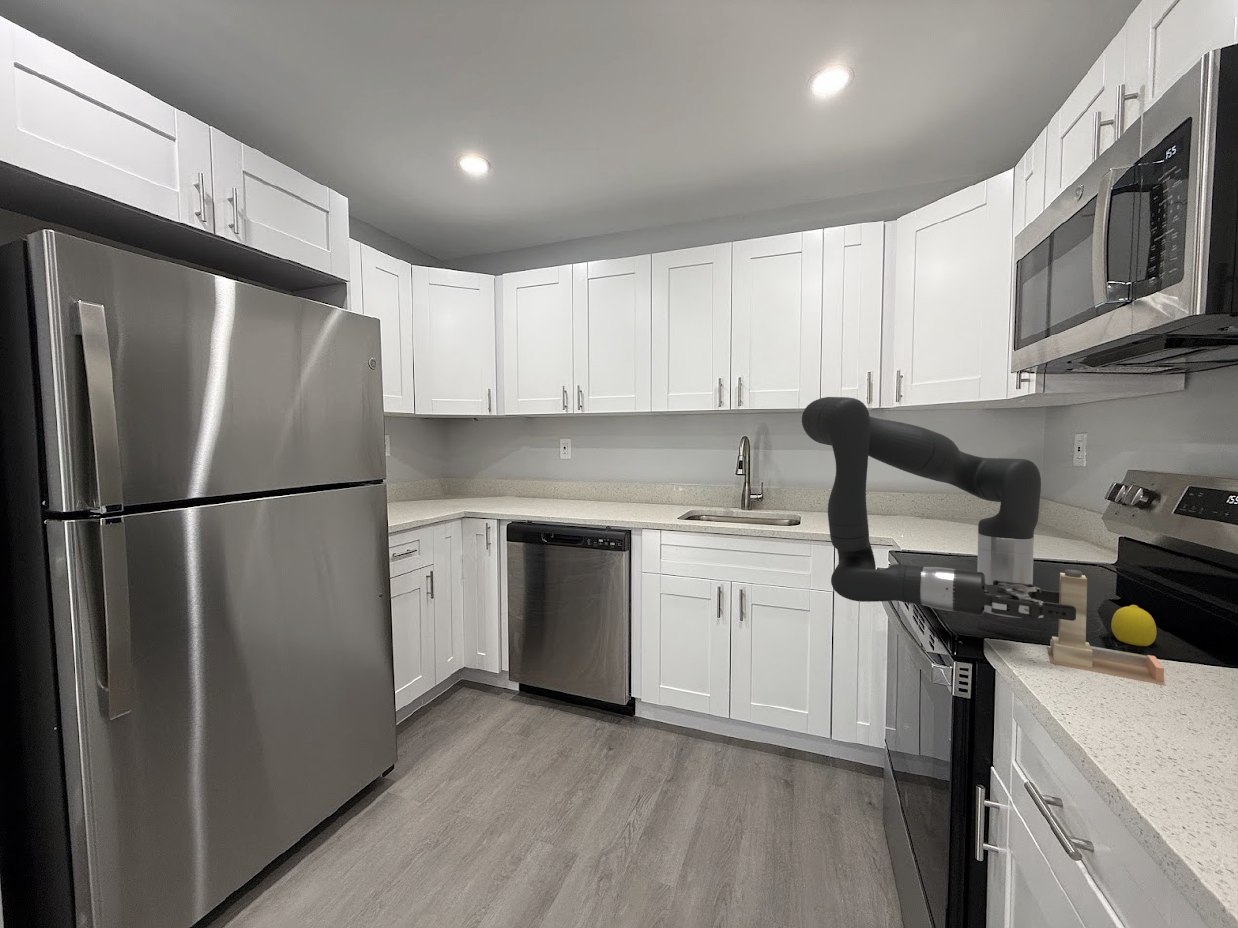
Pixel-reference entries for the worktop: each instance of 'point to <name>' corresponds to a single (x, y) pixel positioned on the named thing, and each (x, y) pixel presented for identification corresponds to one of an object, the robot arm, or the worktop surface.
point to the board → (1112, 669)
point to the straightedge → (1118, 656)
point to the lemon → (1134, 626)
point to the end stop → (1155, 668)
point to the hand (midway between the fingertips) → (1072, 606)
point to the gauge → (1073, 622)
